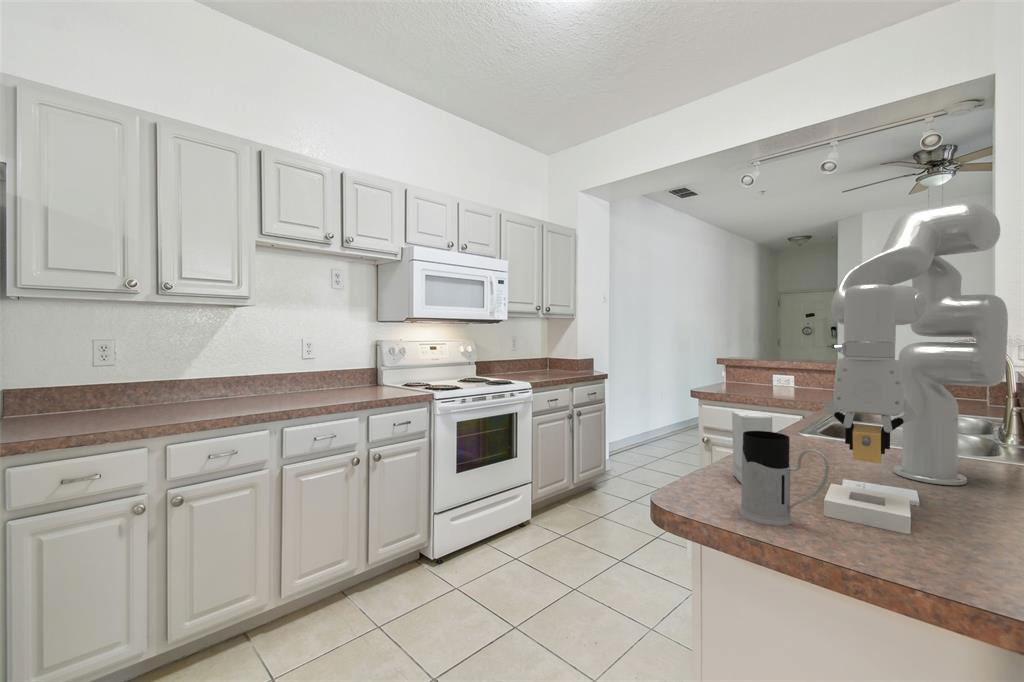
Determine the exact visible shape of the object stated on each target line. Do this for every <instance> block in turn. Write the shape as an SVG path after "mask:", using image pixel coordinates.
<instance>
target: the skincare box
mask: <svg viewBox="0 0 1024 682" xmlns="http://www.w3.org/2000/svg"><path fill="white" fill-rule="evenodd" d="M731 422H732V423H731V424H732V427H731V428H732V459H733V461H732V465H733V470H732V471H733V472H732V473H733V475H734V476H735V477H736V478H737V481H738V482H739V483H740V484H741V485H742V446H743V432H746V431H767V432H773V416H771V415H768V414H766V413H764V412H761V411H735V410H734V411H731ZM734 476H733V477H734ZM735 477H734V478H735Z"/></svg>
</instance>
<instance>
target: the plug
mask: <svg viewBox="0 0 1024 682" xmlns="http://www.w3.org/2000/svg"><path fill="white" fill-rule="evenodd" d="M853 424H854V428H853V450H852V460H855V461H861V462H862V461H863V462H868V463H875V464H882V454H881V430H882V426H881V425H874V424H864V423H854V422H853Z"/></svg>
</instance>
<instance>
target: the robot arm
mask: <svg viewBox="0 0 1024 682" xmlns="http://www.w3.org/2000/svg"><path fill="white" fill-rule="evenodd" d="M1000 235H1001V225H1000V221H999V219H998V217H997V216H996V214H995V213H994V212H993V211H992V210H990V209H988V208H986V206H983V205H982V204H978V203H975V202H958V203H954V204H946V205H941V206H935V207H930V208H929V207H928V208H925V209H919V210H914V211H911V212H907V213H906V214H904V215H902V216H901V217H899V218H898V219H897V221H896V222H894V225H893V227H892V228H891V230H890V232H889V235H888V236H887V237H888V238H887V239H886V241H885V243H884V246H883V247H882V250H881V252H880V253H878V254H876V255H873V256H872V257H870V258H868V259H867V260H865V261H864V262H861V263H860V264H858V265H856V266H855V267H854V268H852V269H850V270H849V271H848V272H846V274H845V275H844V276H843V277H842V278H841V280H840V282H839V284H838V286H837V287H836V290H835V292H834V294H833V298H832V300H831V303H830V304H831V305H830V313H831V316H832V317H833V319H834V320H835V322H836V323H838V324H840V325H843V343H840V344H834V347H833V348H834V349H833V350H834V353H841V355H843V358H842V357H841V358H838V360H837V364H836V368H835V375H834V385H833V394H832V396H831V397H830V398H829V399H828V400H827V402H826V403H825V404H824V405H823V407H822V410H823V411H824V412H826V413H827V414H829V415H831V416H833V418H835V420H838V422H839V423H840V424H841V425H843V427H844V428H845V431H844V432H845V434H844V444H845V445H849V446H848V447H849V448H848V449H849V450H852V451H853V428H854V418H855V414H862V415H863V414H865V415H873V416H874V415H875V416H880V417H881V422H882V426H881V455H886V454H885V453H886V450H891V433H892V432H893V431H894V430H895V429H897V428H899V427H901V426H902V438H901V439H902V443H901V444H902V445H901V447H902V449H901V450H902V451H901V452H902V453H901V456H902V457H901V461H902V462H901V464H898V465H894V466H893V473H895V474H896V475H898V476H900V477H902V478H906V479H908V480H909V479H910V480H913V481H917V482H922V483H927V484H933V485H943V486H963V485H966V484H967V483H968V478H967V476H965V475H963V474H961V473H959V472H958V457H959V456H958V454H959V453H958V451H959V450H958V448H959V444H958V440H959V404H958V402H957V399H956V398H955V397H954V395H953V394H952V393H951V392H950V391H949V390H948V389H946V387H945V386H944V385H946V386H947V385H953V386H955V385H957V386H969V387H994V386H998V385H999V384H1000V383H1002V382H1003V380H1004V378H1005V375H1006V367H1007V351H1008V350H1007V348H1008V347H1007V345H1008V331H1009V330H1008V328H1009V327H1008V326H1009V323H1008V322H1009V321H1008V320H1009V317H1008V315H1009V313H1008V309H1007V305H1006V303H1005V301H1004V300H1003V299H1002V298H1001V297H999V296H998V295H994V294H987V293H986V294H962V278H963V277H962V274H961V273H960V271H959V270H958V269H957V268H956V267H955V266H954V265H953V264H951V263H950V262H948V261H947V260H945V259H944V258H942V257H941V256H948V255H949V256H950V255H959V254H969V253H977V252H985V251H988V250H990V249H992V248H994V247H995V246H996V245H997V243H998V241H999V239H1000ZM910 280H911V281H912V282H911V283H912V285H910V286H909V285H899V284H901V283H904V282H907V281H910ZM897 284H898V285H897ZM904 325H910V328H911V330H912V332H913V333H914V334H915V335H918V336H921V337H929V338H931V337H932V338H972V339H974V340H976V342H951V341H949V342H948V341H946V342H945V341H943V342H942V341H923V342H922V341H921V342H913V343H910V344H907V345H905V346H904V347H903V348H901V350H900V352H899V353H898V359H896V334H897V333H896V331H897V330H896V329H897V326H904ZM843 412H845V414H844V413H843ZM899 415H900V416H899ZM895 416H896V417H895ZM891 417H895V418H893V419H891Z"/></svg>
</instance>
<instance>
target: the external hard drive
mask: <svg viewBox="0 0 1024 682" xmlns="http://www.w3.org/2000/svg"><path fill="white" fill-rule="evenodd" d="M841 485H843V486H849V487H854V488H860V489H866V490H871V491H877V492H883V493H888V494H894V495H900V496H906V497H909V502H910V506H914V505H916V506H915V507H920V499H919V495H918V494H919V493H918V490H915V489H910V488H905V487H896V486H890V485H884V484H883V485H882V484H877V483H870V482H863V481H857V480H851V479H844V478H843V479H842V484H841Z"/></svg>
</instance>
